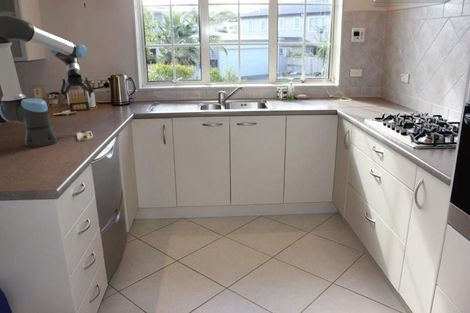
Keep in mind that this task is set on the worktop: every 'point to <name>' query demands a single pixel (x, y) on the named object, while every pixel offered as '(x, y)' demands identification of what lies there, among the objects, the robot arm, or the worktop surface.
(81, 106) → the ammunition clip
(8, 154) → the worktop surface
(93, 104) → the glass holder
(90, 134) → the plate
